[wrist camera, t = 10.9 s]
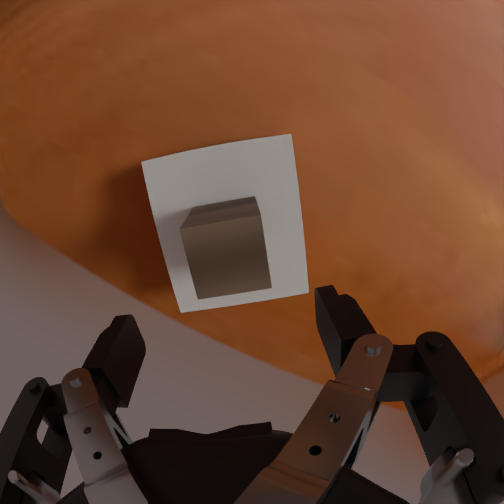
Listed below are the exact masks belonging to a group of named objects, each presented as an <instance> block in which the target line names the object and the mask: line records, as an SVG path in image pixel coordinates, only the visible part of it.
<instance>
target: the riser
mask: <svg viewBox="0 0 504 504" xmlns="http://www.w3.org/2000/svg"><path fill="white" fill-rule="evenodd" d="M141 163H142V168H143V173H144V178H145V182H146V187H147V191H148V196H149V200H150V204H151V209H152V213H153V217H154V221H155V225H156V229H157V233H158V237H159V240H160V244H161V248H162V251H163V255H164V259H165V262H166V266H167V269H168V273H169V276H170V279H171V283H172V286H173V289H174V293H175V296H176V299H177V302H178V305H179V309H180V312H181V313H182V312H190V311H197V310H204V309H212V308H219V307H225V306H232V305H239V304H245V303H252V302H258V301H264V300H270V299H276V298H282V297H288V296H293V295H299V294H304V293H309V289H308V276H307V264H306V253H305V243H304V233H303V223H302V214H301V205H300V197H299V188H298V180H297V173H296V165H295V158H294V150H293V143H292V137H291V134H287V135H279V136H271V137H264V138H257V139H250V140H244V141H237V142H231V143H226V144H220V145H215V146H209V147H204V148H199V149H194V150H190V151H185V152H180V153H176V154H172V155H167V156H163V157H159V158H155V159H151V160H147V161H143V162H141ZM253 196H255V198H256V201H257V204H258V207H259V210H260V213H261V218H262V225H263V231H264V238H265V245H266V251H267V258H268V265H269V271H270V278H271V285H272V288H270V289H264V290H257V291H251V292H245V293H239V294H232V295H226V296H219V297H213V298H206V299H199V300H198V298H197V295H196V291H195V288H194V284H193V280H192V277H191V273H190V269H189V265H188V261H187V257H186V254H185V250H184V246H183V242H182V237H181V233H180V227H181V226H182V224H183V222H184V221H185V219H186V218H187V216H188V214H189V213H190V211H191V210H192V208H193V207H196V206H201V205H207V204H212V203H218V202H223V201H229V200H235V199H241V198H247V197H253Z"/></svg>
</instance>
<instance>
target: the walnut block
mask: <svg viewBox="0 0 504 504" xmlns="http://www.w3.org/2000/svg"><path fill="white" fill-rule="evenodd" d="M180 233H181V237H182V242H183V246H184V250H185V254H186V257H187V261H188V265H189V269H190V273H191V277H192V280H193V284H194V288H195V291H196V295H197V298H198V300H199V299H206V298H213V297H219V296H226V295H232V294H239V293H245V292H251V291H257V290H264V289H270V288H272V285H271V278H270V271H269V265H268V258H267V251H266V245H265V238H264V231H263V225H262V218H261V213H260V210H259V207H258V204H257V201H256V198H255V196H253V197H247V198H241V199H235V200H229V201H223V202H218V203H212V204H207V205H201V206H196V207H193V208H192V210H191V211H190V213H189V214H188V216H187V218H186V219H185V221H184V222H183V224H182V226H181V227H180Z"/></svg>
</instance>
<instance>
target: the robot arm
mask: <svg viewBox="0 0 504 504" xmlns="http://www.w3.org/2000/svg"><path fill="white" fill-rule="evenodd" d="M315 309H316V323H317V328H318V332H319V335H320V337H321V340H322V342H323V345H324V348H325V350H326V353H327V356H328V358H329V361H330V364H331V366H332V369H333V372H334V374H335V377H336V378H335V380H334V381H333V380H328V381H327V383H326V384H325V385H324V387H323V389H322V390H321V392H320V394H319V395H318V397H317V398H316V400H315V402H314V403H313V405H312V407H311V408H310V410H309V411H308V413H307V414H306V416H305V417H304V419H303V420H302V422H301V424H300V425H299V426H298V428H297V430H296V431H295V432H294V434H292V433H289V432H284V431H277V430H272V425H271V422H265V423H258V424H249V425H239V426H236V427H233V428H229V429H226V430H223V431H219V432H215V433H211V434H200V433H195V432H190V431H185V430H180V429H150V432H149V436H148V437H147V438H143V439H140V440H138V441H135V442H133V441H132V440H131V438H130V436H129V434H128V432H127V431H126V429H125V427H124V425H123V423H122V421H121V419H120V417H119V416H118V414H117V413H116V409H117V407H124V408H127V407H128V405H129V401H130V398H131V395H132V392H133V389H134V386H135V383H136V380H137V377H138V374H139V371H140V368H141V365H142V362H143V360H144V356H145V353H146V347H145V342H144V340H143V338H142V335H141V333H140V331H139V328H138V326H137V323H136V321H135V319H134V317H133V316H132V315H120V316H115V318H114V319H113V321H112V323H111V325H110V326H109V327H108V328H107V329H105V330H104V331H103V332H102V333H101V334H100V335H99V337H98V339H97V341H96V343H95V344H94V346H93V349H92V350H91V352H90V353H89V355H88V357H87V359H86V360H85V362H84V364H83V366H82V368H77V369H74V370H72V371H70V372H68V373H67V374H66V375H65V376H64V378H63V379H62V383H61V384H56V385H52V386H49V384H48V383H47V381H46V380H45V379H44V378H42V377H37V378H34V379H32V380H30V381H29V382H28V383H27V384H26V385H25V386H24V388H23V390H22V392H21V394H20V395H19V397H18V399H17V401H16V403H15V405H14V407H13V408H12V410H11V412H10V414H9V416H8V418H7V420H6V422H5V425H4V427H3V429H2V431H1V433H0V504H410V503H408V502H407V501H406V500H404V499H402V498H400V497H399V496H397V495H395V494H393V493H391V492H389V491H387V490H386V489H384V488H382V487H380V486H379V485H377V484H375V483H373V482H372V481H370V480H368V479H366V478H365V477H363V476H361V475H360V474H358V473H357V472H355V471H353V470H352V469H353V467H354V465H355V463H356V461H357V459H358V457H359V454H360V452H361V450H362V447H363V445H364V442H365V440H366V437H367V435H368V433H369V430H370V428H371V426H372V423H373V421H374V419H375V416H376V414H377V412H378V409H379V407H380V404H381V402H391V401H404V404H405V406H406V408H407V410H408V413H409V415H410V417H411V420H412V422H413V425H414V427H415V429H416V432H417V434H418V437H419V439H420V442H421V444H422V447H423V450H424V452H425V455H426V457H427V460H428V463H429V465H430V468H429V470H428V471H427V472H426V473H425V475H424V476H423V478H422V480H421V485H420V490H421V498H420V501H419V503H418V504H499V503H501V502H502V501H504V419H503V418H502V416H501V414H500V413H499V411H498V409H497V408H496V406H495V404H494V403H493V401H492V400H491V398H490V396H489V395H488V393H487V392H486V390H485V389H484V387H483V386H482V384H481V383H480V381H479V380H478V378H477V377H476V375H475V374H474V372H473V371H472V369H471V368H470V366H469V365H468V364H467V362H466V361H465V359H464V358H463V357H462V355H461V354H460V352H459V351H458V350H457V348H456V347H455V346H454V344H453V343H452V341H451V340H450V339H449V338H448V337H447V336H446V335H444V334H442V333H439V332H425V333H423V334H421V335H420V336H419V337H418V338H417V339H416V343H415V344H413V345H394V344H392V342H391V341H390V339H388V338H387V337H385V336H383V335H380V334H377V333H376V331H375V330H374V328H373V327H372V325H371V324H370V322H369V320H368V319H367V317H366V316H365V314H364V313H363V311H362V309H361V308H360V306H359V305H358V303H357V302H356V300H355V299H354V298H352V297H350V296H349V295H347V294H343V295H338V293H337V292H336V290H335V288H334V287H333V285H329V286H323V287H318V288H315ZM42 419H43V421H44V422H45V423H46V424H47V425H48V426H49V427H48V430H47V432H46V435H45V437H44V440H43V442H42V445H41V444H40V443H39V441H38V439H37V429H38V427H39V425H40V423H41V420H42ZM72 449H73V452H74V455H75V458H76V460H77V463H78V466H79V469H80V471H81V474H82V477H83V479H84V482H82V483H81V484H80V485H79V486H77V487H76V488H75V489H73V490H72V491H71V492H70V493H68V494H67V495H66V496H64V497H63V498H62V499H61V498H60V493H61V489H62V485H63V481H64V477H65V474H66V470H67V466H68V463H69V459H70V456H71V452H72Z"/></svg>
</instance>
